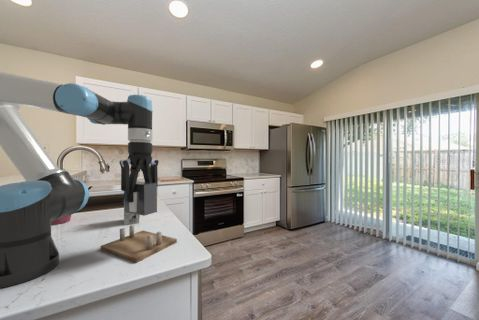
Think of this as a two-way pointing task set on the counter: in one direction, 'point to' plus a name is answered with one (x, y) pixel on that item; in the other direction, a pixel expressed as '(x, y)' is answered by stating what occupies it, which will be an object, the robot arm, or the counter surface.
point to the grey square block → (144, 198)
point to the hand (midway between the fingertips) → (140, 209)
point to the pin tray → (138, 244)
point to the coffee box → (130, 216)
